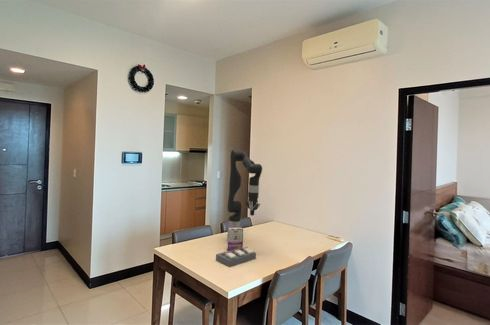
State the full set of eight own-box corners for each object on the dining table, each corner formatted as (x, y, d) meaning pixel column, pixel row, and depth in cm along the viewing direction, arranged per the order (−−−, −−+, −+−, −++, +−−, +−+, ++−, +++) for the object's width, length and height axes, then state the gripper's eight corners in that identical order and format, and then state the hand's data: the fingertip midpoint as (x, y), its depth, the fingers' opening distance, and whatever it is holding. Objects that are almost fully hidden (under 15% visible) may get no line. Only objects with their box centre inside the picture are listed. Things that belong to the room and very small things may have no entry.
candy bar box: (241, 248, 209) (242, 227, 209) (242, 250, 204) (243, 228, 204) (226, 248, 207) (227, 227, 207) (227, 251, 202) (228, 229, 202)
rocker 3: (242, 249, 190) (243, 247, 190) (247, 248, 193) (247, 246, 193) (248, 254, 186) (249, 252, 186) (252, 253, 189) (253, 251, 189)
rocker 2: (234, 252, 185) (234, 250, 185) (238, 251, 188) (239, 249, 187) (240, 256, 181) (240, 254, 180) (244, 255, 183) (244, 253, 183)
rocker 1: (225, 255, 179) (225, 252, 179) (229, 253, 182) (230, 251, 182) (231, 259, 175) (231, 256, 175) (235, 257, 178) (236, 255, 178)
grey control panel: (215, 260, 183) (216, 254, 183) (241, 252, 200) (242, 247, 200) (229, 266, 173) (229, 260, 173) (255, 258, 190) (256, 252, 190)
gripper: (263, 192, 195) (262, 216, 196) (250, 189, 205) (249, 212, 205) (256, 193, 190) (254, 217, 191) (243, 190, 200) (242, 214, 200)
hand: (252, 215), depth 198 cm, fingers closed
